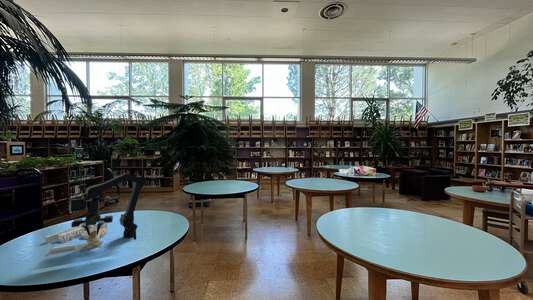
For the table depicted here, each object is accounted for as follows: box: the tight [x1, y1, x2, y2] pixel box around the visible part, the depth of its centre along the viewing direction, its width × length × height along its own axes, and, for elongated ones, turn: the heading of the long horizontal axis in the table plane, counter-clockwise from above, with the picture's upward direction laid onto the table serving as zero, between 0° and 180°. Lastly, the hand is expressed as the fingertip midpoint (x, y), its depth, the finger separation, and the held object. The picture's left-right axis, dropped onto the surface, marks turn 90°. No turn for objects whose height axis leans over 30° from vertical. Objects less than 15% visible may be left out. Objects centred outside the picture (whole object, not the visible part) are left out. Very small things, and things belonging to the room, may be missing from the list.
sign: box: [44, 223, 108, 244], centre depth 157 cm, size 30×4×30 cm
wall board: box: [44, 240, 104, 257], centre depth 134 cm, size 24×10×4 cm, turn 117°
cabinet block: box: [86, 230, 101, 248], centre depth 138 cm, size 5×6×8 cm
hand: (93, 236), depth 138 cm, fingers open, 3 cm apart
